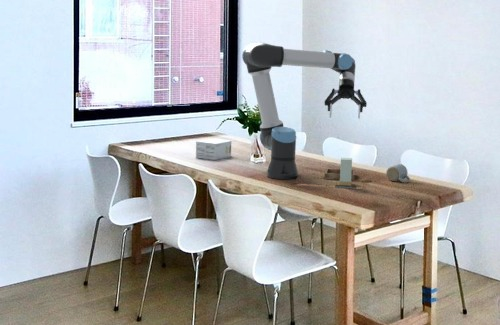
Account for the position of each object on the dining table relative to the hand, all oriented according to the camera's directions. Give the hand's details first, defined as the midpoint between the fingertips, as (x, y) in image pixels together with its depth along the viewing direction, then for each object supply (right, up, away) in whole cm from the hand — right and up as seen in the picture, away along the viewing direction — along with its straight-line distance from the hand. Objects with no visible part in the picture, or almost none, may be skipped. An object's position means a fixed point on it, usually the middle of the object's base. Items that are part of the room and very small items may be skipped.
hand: (344, 116), depth 326 cm
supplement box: (-66, -19, +56) cm, 89 cm away
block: (-2, -32, -17) cm, 36 cm away
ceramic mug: (+26, -31, -1) cm, 40 cm away
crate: (-2, -30, 0) cm, 30 cm away
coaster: (-2, -33, -17) cm, 37 cm away
